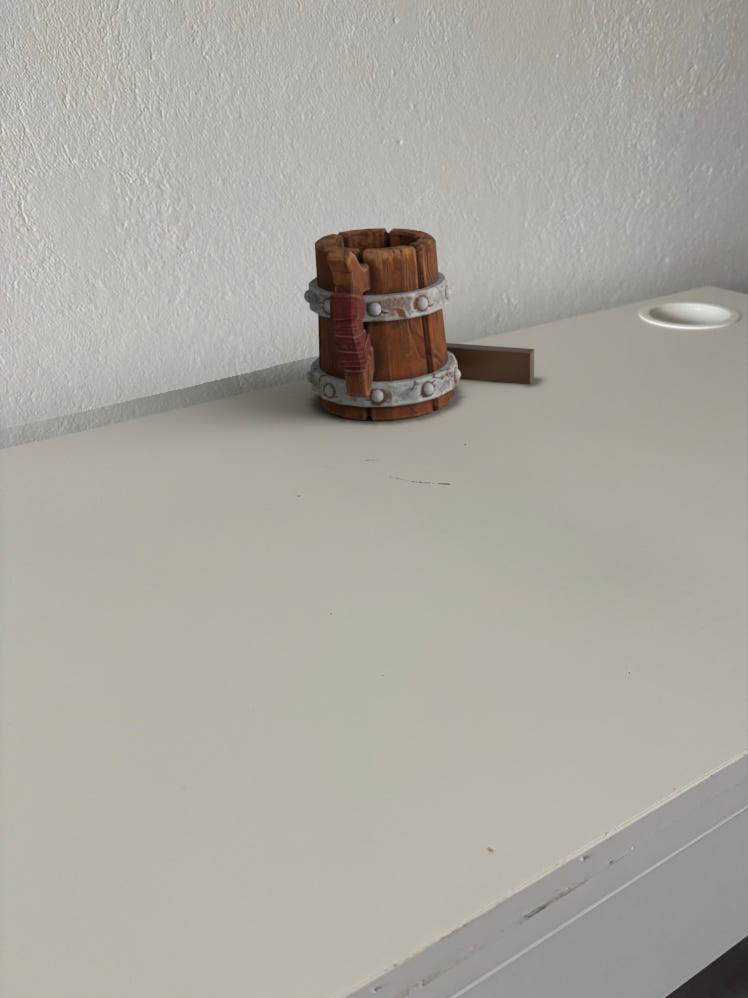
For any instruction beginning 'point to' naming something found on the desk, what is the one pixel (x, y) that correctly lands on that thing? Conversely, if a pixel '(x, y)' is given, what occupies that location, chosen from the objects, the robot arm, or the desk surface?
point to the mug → (380, 325)
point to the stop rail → (494, 362)
